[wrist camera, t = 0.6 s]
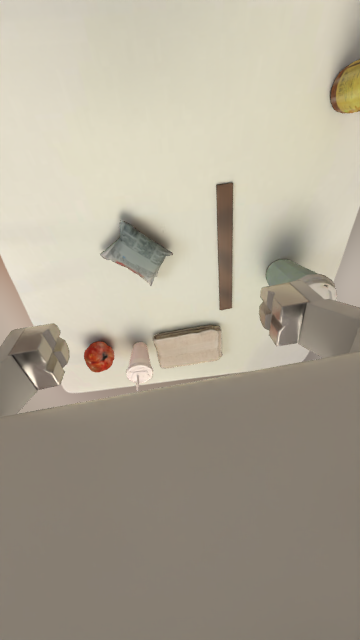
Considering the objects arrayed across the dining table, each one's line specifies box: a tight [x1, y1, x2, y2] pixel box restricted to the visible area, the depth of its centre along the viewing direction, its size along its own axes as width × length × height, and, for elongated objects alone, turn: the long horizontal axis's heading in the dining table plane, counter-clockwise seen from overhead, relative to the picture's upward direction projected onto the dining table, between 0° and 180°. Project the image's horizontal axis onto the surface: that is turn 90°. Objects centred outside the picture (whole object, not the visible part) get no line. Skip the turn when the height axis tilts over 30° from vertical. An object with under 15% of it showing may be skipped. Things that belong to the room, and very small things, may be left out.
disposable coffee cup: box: [266, 259, 337, 301], centre depth 52 cm, size 11×11×15 cm
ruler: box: [216, 183, 233, 310], centre depth 54 cm, size 28×3×1 cm, turn 7°
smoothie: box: [126, 342, 153, 391], centre depth 61 cm, size 6×6×14 cm
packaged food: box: [100, 220, 173, 286], centre depth 49 cm, size 9×12×5 cm
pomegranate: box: [84, 341, 114, 372], centre depth 63 cm, size 7×7×10 cm
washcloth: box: [153, 325, 222, 369], centre depth 67 cm, size 12×18×3 cm, turn 98°
